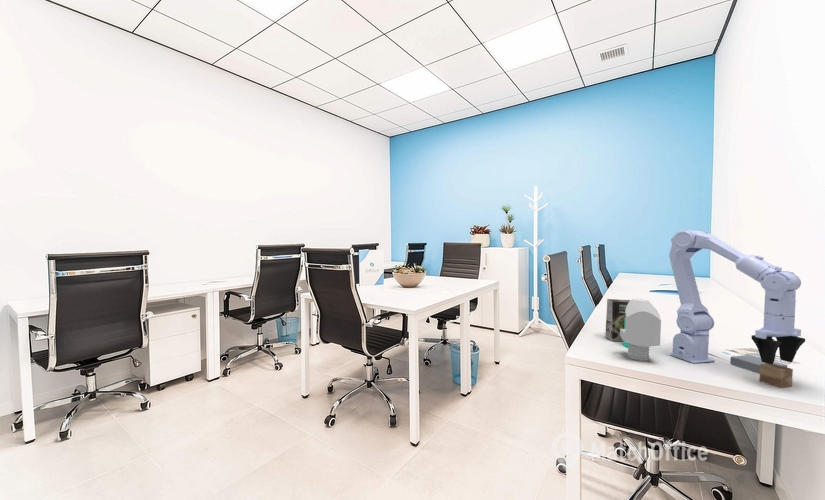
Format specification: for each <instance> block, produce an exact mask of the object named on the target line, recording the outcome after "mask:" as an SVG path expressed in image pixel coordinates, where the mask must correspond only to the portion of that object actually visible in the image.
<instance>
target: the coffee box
mask: <svg viewBox="0 0 825 500" xmlns="http://www.w3.org/2000/svg"><path fill="white" fill-rule="evenodd" d="M631 300H632V299H618V298H617V299H615V298H613V299H612V298H607V299H606V314H605V316H606V317H605V318H606V319H605V334H604V336H605V338H607V339H608V340H609V341H610V342H617V343H618V342H619V343H624V341H623V340H622V338H621V336H620V329H624V324H625V318H626V315H625V309H626V307H627V305H628V303H629V302H630V301H631Z"/></svg>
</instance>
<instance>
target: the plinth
mask: <svg viewBox="0 0 825 500" xmlns="http://www.w3.org/2000/svg"><path fill="white" fill-rule="evenodd" d="M729 361H730V363H729V364H730V365H731V364H732V365H731V366H734V365H735V367H738V368H741V367H742V368H741V369H744V368H746V369H745V370H747V369H748V371H750V370H751V371H750V372H753V373H757V374H758V375H760V364H766V363H764V362H762V360H761V357H760V356H756V355H752V354H744V355H734V356H733V355H731V356H730V360H729ZM773 364H777V365H780V366H784V367H787V368H788V364H784V363H781V362H778V361H774V363H773Z"/></svg>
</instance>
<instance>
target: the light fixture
mask: <svg viewBox="0 0 825 500" xmlns="http://www.w3.org/2000/svg"><path fill="white" fill-rule="evenodd" d="M630 300H631V301H630V302H629V303H628V305H627V307H626V309H625V315H626V329H620V336H621V338H622V340H623V341H624V342H627V343H629V344H628V347H627V358H630V359H631V360H635V361H638V362H640V361H641V362H647V361H649V358H650V347H659V346H661V332H662V331H661V330H662V318H661V315H660V313H659V311H658V310H657V309H656V307H655V306H654V305H653V304H652V303H651V301H649V300H648V299H643V298H631V299H630ZM624 342H623V343H624Z"/></svg>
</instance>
